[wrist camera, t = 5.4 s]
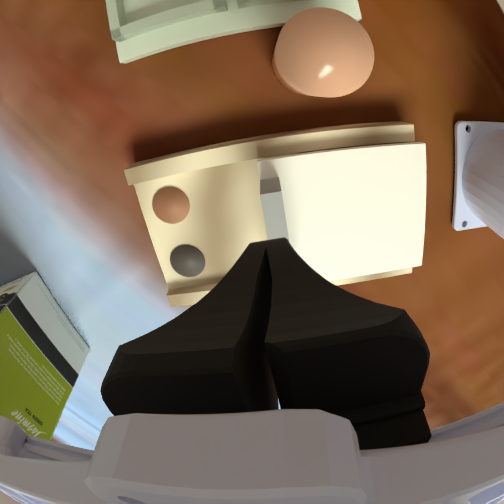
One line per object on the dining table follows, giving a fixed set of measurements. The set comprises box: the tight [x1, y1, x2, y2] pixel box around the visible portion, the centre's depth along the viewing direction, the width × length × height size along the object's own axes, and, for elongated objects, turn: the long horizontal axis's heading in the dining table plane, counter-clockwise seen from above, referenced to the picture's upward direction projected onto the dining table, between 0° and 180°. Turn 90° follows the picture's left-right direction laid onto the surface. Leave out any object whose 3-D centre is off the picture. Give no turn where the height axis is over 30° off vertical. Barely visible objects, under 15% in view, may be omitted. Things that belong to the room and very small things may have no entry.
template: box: [124, 121, 415, 307], centre depth 19 cm, size 17×10×2 cm, turn 100°
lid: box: [257, 142, 426, 281], centre depth 17 cm, size 10×8×3 cm
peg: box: [272, 7, 374, 97], centre depth 13 cm, size 4×4×6 cm
